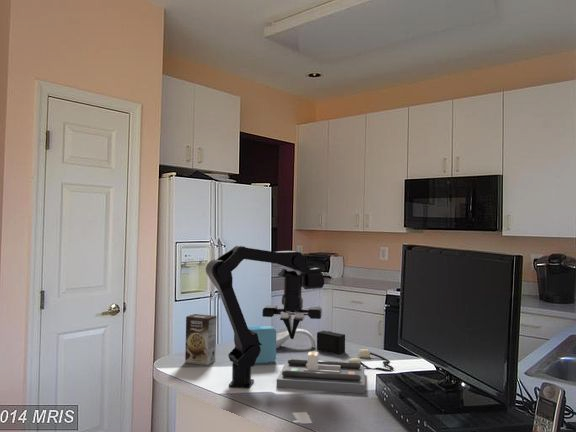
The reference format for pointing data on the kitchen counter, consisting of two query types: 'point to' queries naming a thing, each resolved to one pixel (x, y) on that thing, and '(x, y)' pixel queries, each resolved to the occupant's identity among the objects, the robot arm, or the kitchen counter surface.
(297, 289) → the robot arm
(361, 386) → the panel
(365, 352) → the cable
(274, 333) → the data package
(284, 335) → the spoon rest
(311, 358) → the knob
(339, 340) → the digital camera
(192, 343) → the coffee box
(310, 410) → the kitchen counter surface
